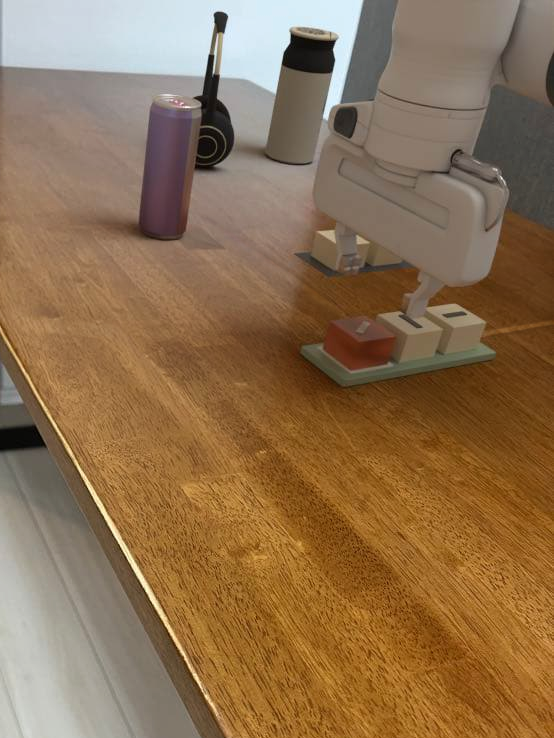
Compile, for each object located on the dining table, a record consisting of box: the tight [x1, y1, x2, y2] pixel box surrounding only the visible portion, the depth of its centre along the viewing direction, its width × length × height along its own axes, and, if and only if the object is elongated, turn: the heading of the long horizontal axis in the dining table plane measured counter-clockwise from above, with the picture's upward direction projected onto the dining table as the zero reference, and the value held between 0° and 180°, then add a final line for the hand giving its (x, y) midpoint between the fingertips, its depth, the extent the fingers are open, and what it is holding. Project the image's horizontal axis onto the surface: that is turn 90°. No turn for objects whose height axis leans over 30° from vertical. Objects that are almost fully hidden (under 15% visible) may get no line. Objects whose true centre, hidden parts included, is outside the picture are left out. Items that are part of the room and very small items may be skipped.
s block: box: [323, 315, 396, 370], centre depth 82 cm, size 5×5×3 cm
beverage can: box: [137, 93, 202, 241], centre depth 102 cm, size 6×6×15 cm
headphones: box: [192, 10, 235, 168], centre depth 126 cm, size 9×15×20 cm, turn 0°
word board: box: [299, 302, 497, 388], centre depth 85 cm, size 20×7×4 cm, turn 118°
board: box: [293, 229, 416, 278], centre depth 105 cm, size 20×7×4 cm, turn 118°
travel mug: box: [264, 26, 340, 165], centre depth 134 cm, size 8×8×18 cm
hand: (376, 293), depth 79 cm, fingers open, 8 cm apart
